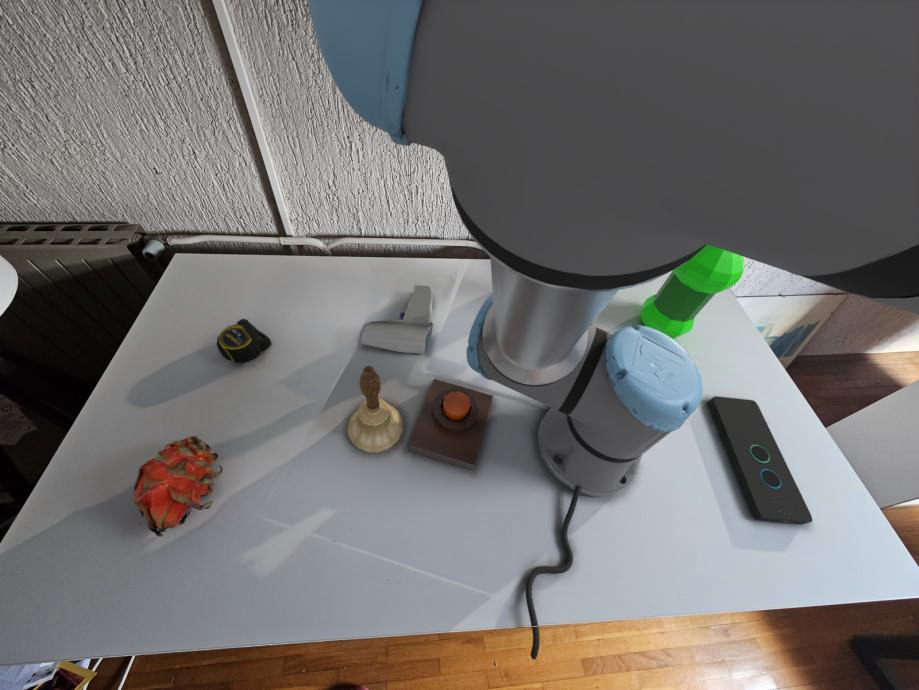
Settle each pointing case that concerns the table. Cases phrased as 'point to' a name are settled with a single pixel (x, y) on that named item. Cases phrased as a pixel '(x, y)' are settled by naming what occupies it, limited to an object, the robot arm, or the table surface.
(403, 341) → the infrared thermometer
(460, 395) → the button
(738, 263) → the plastic bottle
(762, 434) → the smart home device
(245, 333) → the tape measure
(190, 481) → the dragon fruit
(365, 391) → the hand bell
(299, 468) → the table surface
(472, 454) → the control block
